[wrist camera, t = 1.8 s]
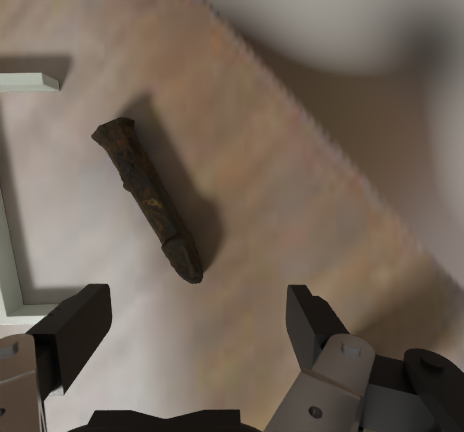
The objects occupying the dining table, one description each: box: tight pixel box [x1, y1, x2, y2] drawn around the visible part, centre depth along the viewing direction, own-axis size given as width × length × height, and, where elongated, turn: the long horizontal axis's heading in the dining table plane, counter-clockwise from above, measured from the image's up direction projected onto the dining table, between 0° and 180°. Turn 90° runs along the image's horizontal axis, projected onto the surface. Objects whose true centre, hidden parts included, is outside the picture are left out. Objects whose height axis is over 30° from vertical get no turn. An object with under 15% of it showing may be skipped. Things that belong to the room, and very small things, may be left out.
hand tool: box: [91, 118, 203, 284], centre depth 28 cm, size 19×4×5 cm, turn 24°
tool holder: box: [0, 73, 60, 325], centre depth 29 cm, size 9×26×2 cm, turn 1°
